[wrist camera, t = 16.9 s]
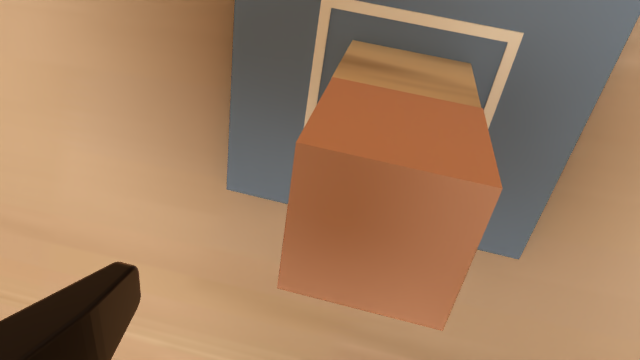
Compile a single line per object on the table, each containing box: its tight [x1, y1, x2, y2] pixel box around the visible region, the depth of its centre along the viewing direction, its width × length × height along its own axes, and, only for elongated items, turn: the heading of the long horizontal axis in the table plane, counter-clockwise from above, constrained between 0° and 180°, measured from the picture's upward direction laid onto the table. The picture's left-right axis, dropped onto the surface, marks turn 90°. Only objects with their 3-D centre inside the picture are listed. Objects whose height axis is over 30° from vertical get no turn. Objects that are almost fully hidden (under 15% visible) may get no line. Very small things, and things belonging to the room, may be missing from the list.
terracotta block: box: [277, 77, 503, 331], centre depth 13 cm, size 4×4×4 cm
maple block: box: [331, 40, 481, 108], centre depth 17 cm, size 4×4×4 cm
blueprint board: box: [227, 0, 640, 259], centre depth 19 cm, size 12×14×1 cm
